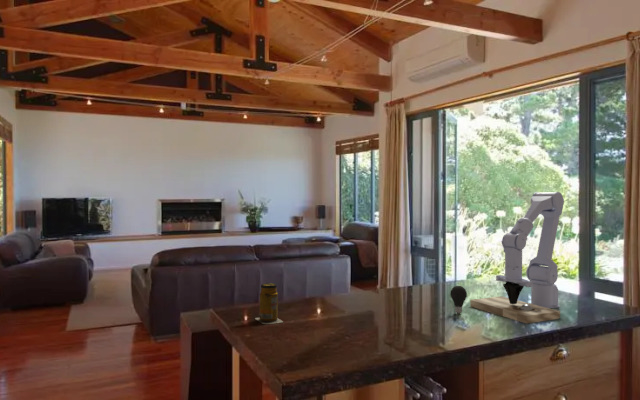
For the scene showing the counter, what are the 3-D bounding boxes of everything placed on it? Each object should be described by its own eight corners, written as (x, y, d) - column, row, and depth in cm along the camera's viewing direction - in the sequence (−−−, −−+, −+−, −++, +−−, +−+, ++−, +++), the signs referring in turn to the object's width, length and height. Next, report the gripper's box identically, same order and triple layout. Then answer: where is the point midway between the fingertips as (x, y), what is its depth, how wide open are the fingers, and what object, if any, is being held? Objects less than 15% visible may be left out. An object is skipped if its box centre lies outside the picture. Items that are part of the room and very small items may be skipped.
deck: (501, 302, 182) (501, 296, 182) (560, 318, 158) (560, 311, 158) (470, 306, 175) (470, 299, 175) (526, 323, 152) (526, 315, 152)
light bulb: (467, 316, 161) (467, 287, 160) (451, 315, 162) (451, 286, 162) (465, 312, 166) (466, 284, 166) (449, 311, 167) (449, 284, 167)
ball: (532, 318, 160) (526, 315, 164) (536, 307, 160) (530, 304, 164) (522, 315, 160) (516, 312, 164) (525, 304, 160) (520, 301, 164)
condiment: (274, 316, 159) (275, 281, 159) (283, 322, 151) (284, 286, 151) (254, 318, 156) (254, 283, 155) (262, 325, 148) (262, 288, 148)
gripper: (490, 264, 171) (489, 300, 171) (522, 269, 158) (521, 309, 158) (504, 263, 174) (503, 298, 174) (536, 268, 161) (536, 307, 161)
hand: (513, 303), depth 167 cm, fingers closed
